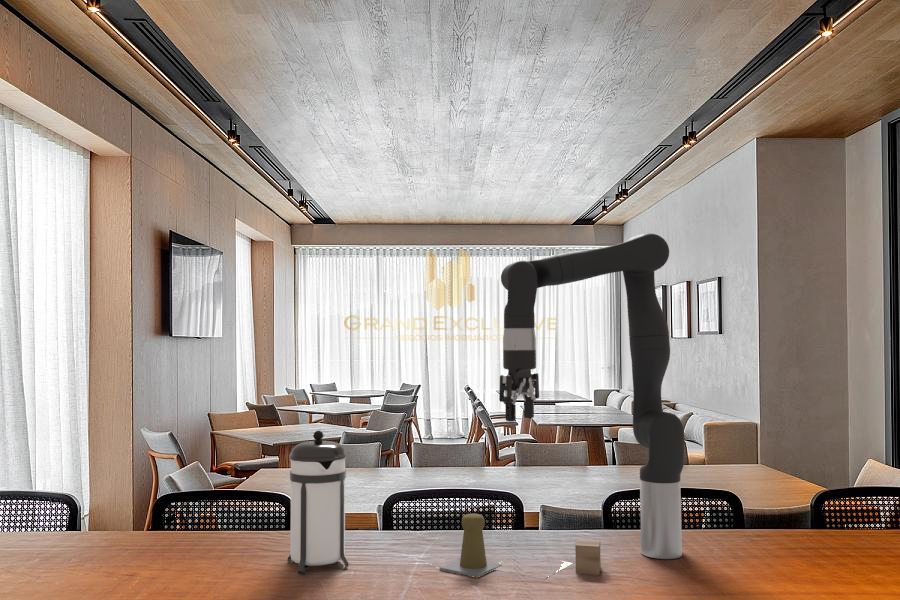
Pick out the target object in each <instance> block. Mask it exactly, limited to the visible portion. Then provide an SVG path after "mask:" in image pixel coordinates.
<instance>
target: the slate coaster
mask: <svg viewBox="0 0 900 600" xmlns="http://www.w3.org/2000/svg"><path fill="white" fill-rule="evenodd" d="M460 559H461V557H460V558H459V559H456V560H454V561H451V562H449V563H447V564H445V565H442V566H440V567H439V571H442V572H446V573H451V574H455V573H456V574H457V575H460V574H463V575H462V576H465V575H468V576H467V577H470V576H474V577H473V578H475V577H479V576H482V575H484V574H486V573H487V572H490V571H492V570H494V569H496V568H498V567H500V566H502V564H501V563H500V562H495V561H489V560H486V562H487V566H486V567H484V568H479V569H468V568H463V567H461V566H460ZM494 571H495V570H494ZM492 572H493V571H492ZM490 573H491V572H490ZM486 575H487V574H486ZM484 576H485V575H484ZM482 577H483V576H482Z"/></svg>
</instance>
